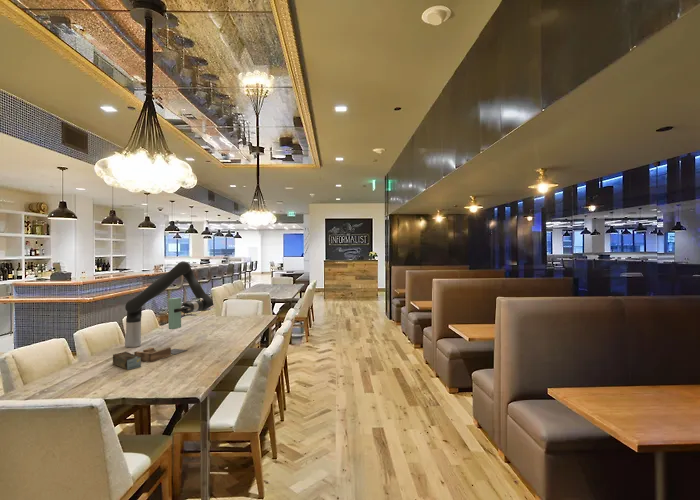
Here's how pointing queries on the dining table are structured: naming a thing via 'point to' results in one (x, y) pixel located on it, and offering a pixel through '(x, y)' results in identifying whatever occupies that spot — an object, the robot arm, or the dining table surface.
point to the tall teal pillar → (174, 317)
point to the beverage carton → (126, 360)
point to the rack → (153, 355)
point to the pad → (177, 351)
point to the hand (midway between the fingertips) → (171, 310)
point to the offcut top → (149, 350)
